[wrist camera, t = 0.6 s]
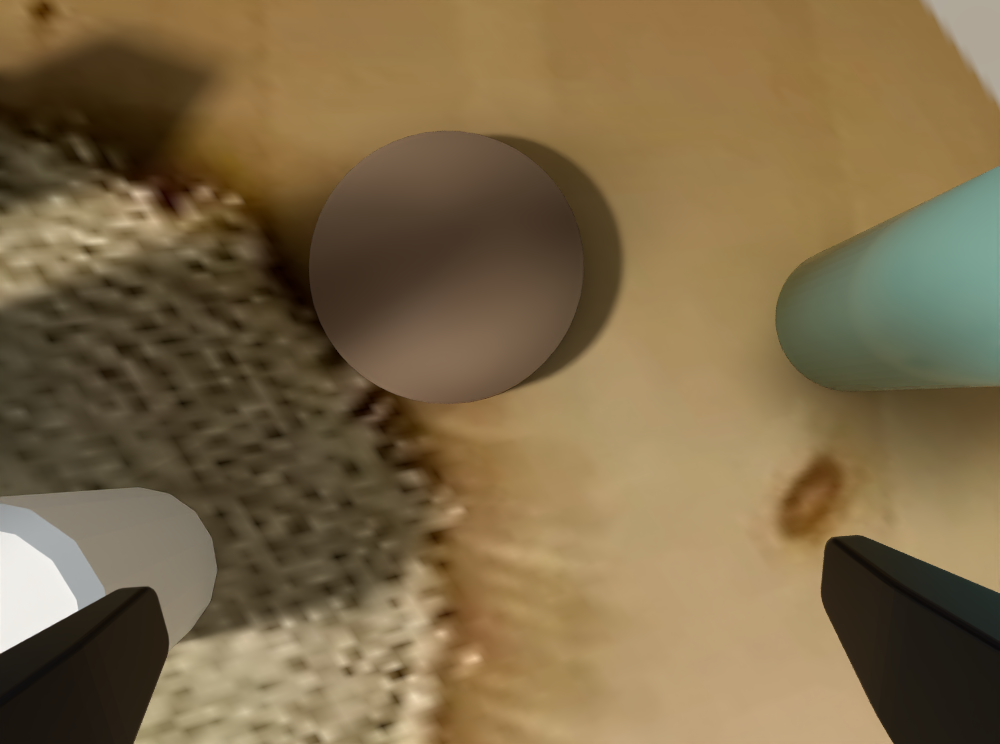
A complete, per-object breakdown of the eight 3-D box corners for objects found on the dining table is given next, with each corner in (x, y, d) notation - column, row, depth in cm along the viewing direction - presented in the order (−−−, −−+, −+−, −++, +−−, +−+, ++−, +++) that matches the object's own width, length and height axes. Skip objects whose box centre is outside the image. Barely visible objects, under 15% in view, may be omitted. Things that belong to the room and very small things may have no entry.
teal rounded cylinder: (945, 356, 22) (1502, 295, 10) (812, 414, 22) (1203, 429, 10) (882, 225, 23) (1348, 3, 10) (751, 282, 22) (1055, 132, 10)
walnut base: (620, 340, 22) (628, 335, 21) (382, 445, 22) (373, 448, 21) (515, 108, 23) (516, 88, 21) (282, 210, 23) (266, 197, 21)
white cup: (193, 438, 22) (50, 454, 16) (264, 624, 22) (152, 727, 15) (9, 514, 22) (-217, 564, 15) (78, 701, 22) (-121, 840, 15)
